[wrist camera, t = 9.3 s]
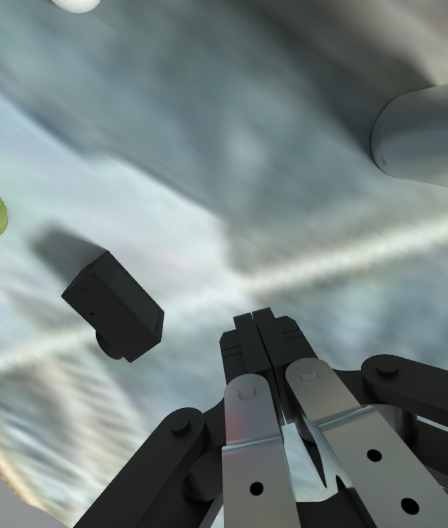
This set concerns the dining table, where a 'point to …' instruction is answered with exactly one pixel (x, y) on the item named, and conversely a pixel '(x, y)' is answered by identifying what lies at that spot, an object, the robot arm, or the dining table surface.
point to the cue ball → (76, 5)
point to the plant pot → (3, 217)
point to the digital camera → (116, 308)
